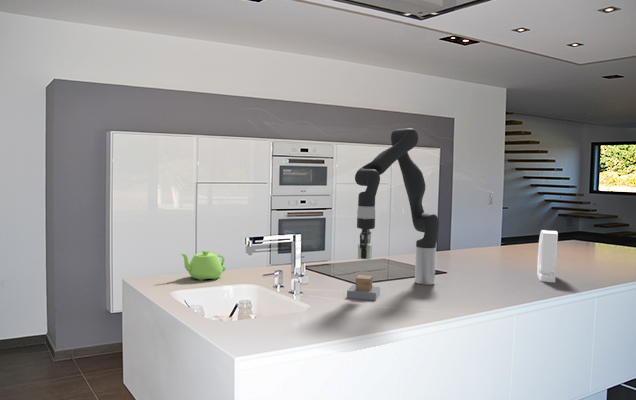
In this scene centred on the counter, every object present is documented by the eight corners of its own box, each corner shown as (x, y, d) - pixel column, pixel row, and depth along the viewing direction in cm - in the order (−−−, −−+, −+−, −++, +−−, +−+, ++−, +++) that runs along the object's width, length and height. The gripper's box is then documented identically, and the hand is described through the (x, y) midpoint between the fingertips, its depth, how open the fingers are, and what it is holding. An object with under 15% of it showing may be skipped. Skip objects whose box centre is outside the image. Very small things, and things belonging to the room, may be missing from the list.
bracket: (540, 281, 260) (543, 231, 259) (536, 273, 280) (539, 226, 279) (555, 282, 258) (558, 232, 257) (550, 274, 278) (553, 227, 276)
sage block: (359, 257, 223) (360, 243, 223) (371, 257, 222) (372, 243, 221) (357, 258, 218) (358, 244, 218) (369, 259, 217) (370, 245, 216)
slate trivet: (352, 291, 228) (352, 284, 228) (379, 293, 225) (380, 286, 225) (346, 297, 216) (347, 290, 216) (375, 300, 213) (375, 293, 213)
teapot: (184, 283, 235) (184, 254, 235) (175, 277, 248) (175, 249, 247) (230, 279, 247) (231, 251, 246) (219, 273, 259) (219, 247, 259)
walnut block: (358, 286, 224) (358, 275, 224) (372, 287, 223) (372, 276, 222) (355, 289, 218) (355, 277, 218) (369, 290, 217) (370, 279, 217)
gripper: (360, 215, 227) (359, 254, 228) (354, 218, 213) (352, 259, 214) (377, 216, 225) (376, 255, 226) (372, 218, 211) (371, 260, 212)
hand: (364, 257), depth 220 cm, fingers closed on sage block, 5 cm apart
